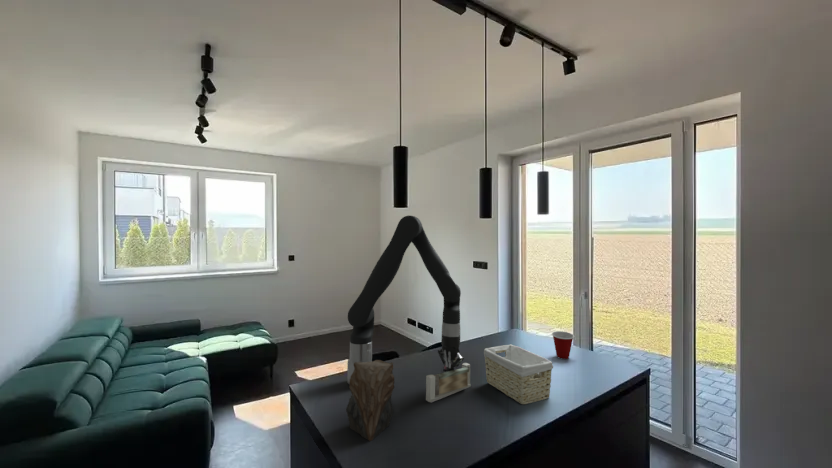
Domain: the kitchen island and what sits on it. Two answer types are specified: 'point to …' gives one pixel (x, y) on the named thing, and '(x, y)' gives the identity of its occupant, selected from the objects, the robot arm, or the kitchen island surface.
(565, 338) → the plastic cup
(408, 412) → the kitchen island surface
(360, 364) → the owl
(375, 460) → the kitchen island surface
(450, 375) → the panel
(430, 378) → the gate posts
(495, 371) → the storage basket
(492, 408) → the kitchen island surface
